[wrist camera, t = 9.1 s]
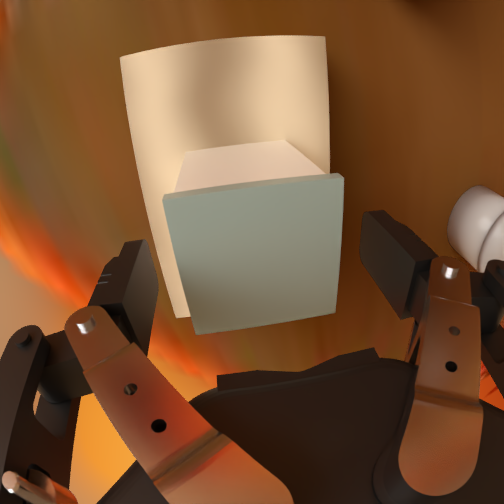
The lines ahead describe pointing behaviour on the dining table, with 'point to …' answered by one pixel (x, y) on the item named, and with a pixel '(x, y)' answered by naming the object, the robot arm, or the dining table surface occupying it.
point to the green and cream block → (255, 235)
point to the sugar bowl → (478, 227)
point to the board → (220, 113)
